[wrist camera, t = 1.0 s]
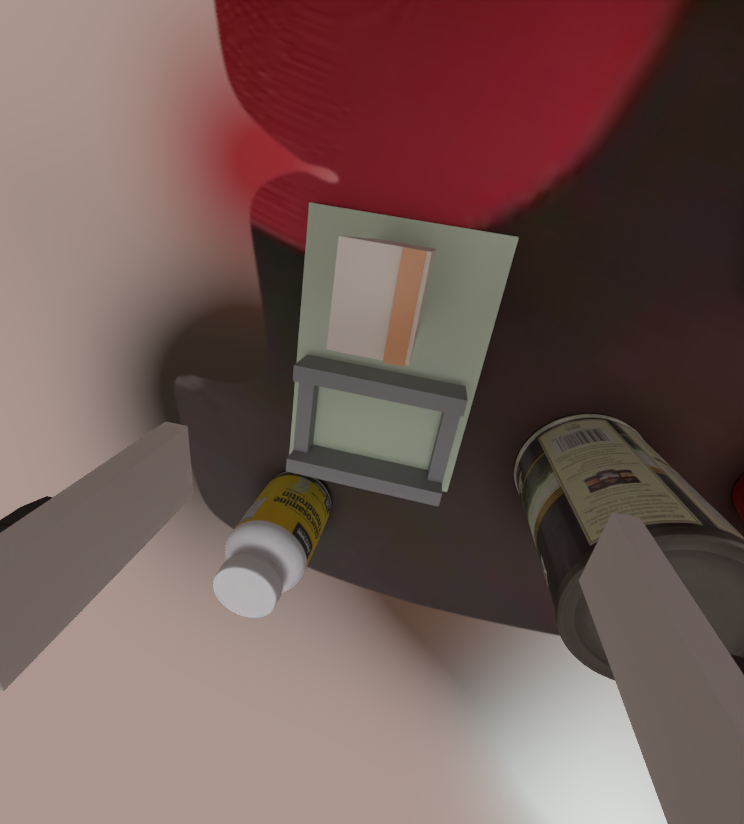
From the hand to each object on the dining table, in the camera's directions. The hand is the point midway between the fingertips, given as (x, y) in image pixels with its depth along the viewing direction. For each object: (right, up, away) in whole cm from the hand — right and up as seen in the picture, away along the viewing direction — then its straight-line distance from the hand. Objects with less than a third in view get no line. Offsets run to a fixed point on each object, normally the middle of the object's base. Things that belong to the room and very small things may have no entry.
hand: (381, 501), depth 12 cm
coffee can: (+17, -2, +20) cm, 26 cm away
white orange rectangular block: (+2, +12, +15) cm, 19 cm away
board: (+1, +7, +19) cm, 20 cm away
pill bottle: (-7, -5, +26) cm, 27 cm away
